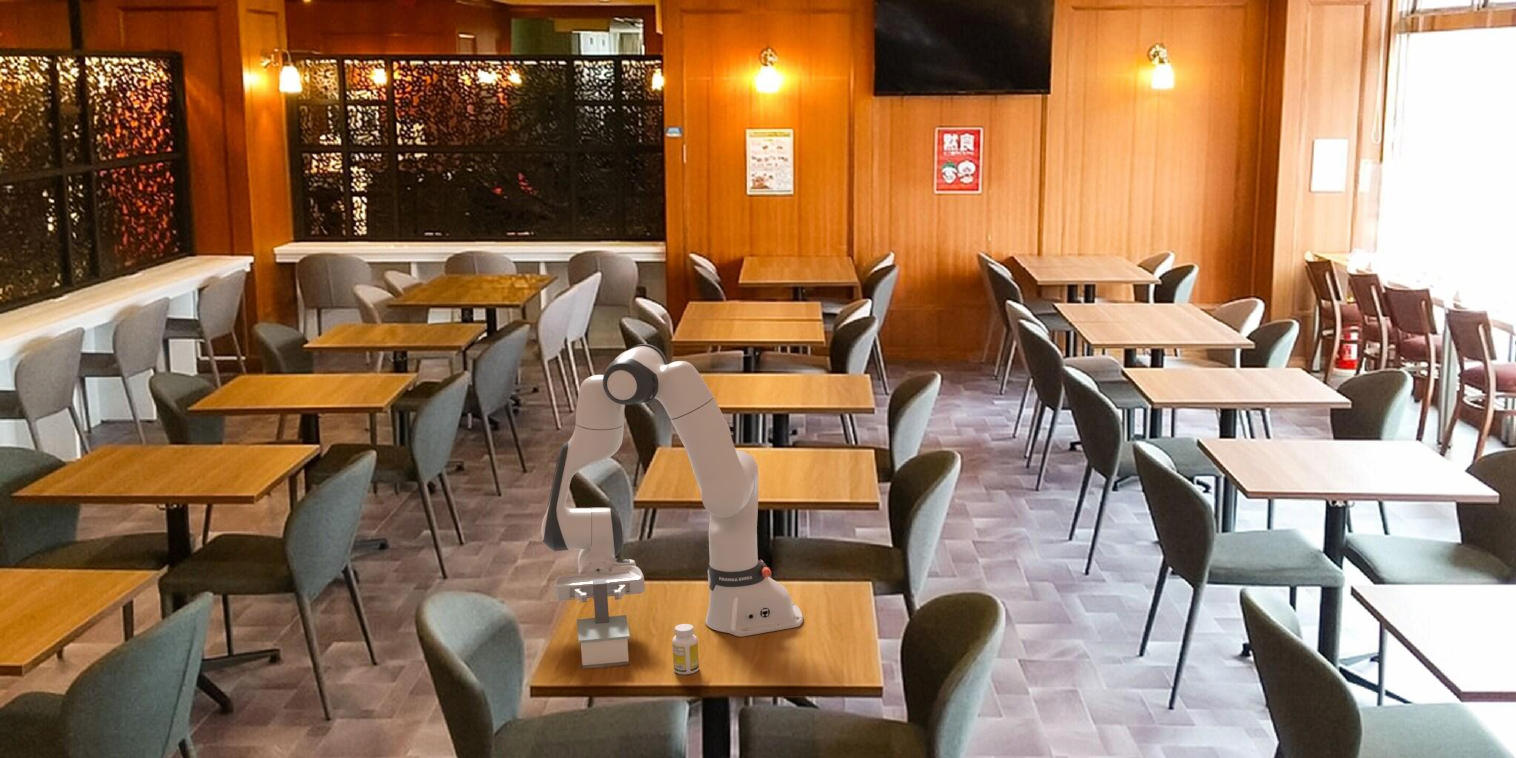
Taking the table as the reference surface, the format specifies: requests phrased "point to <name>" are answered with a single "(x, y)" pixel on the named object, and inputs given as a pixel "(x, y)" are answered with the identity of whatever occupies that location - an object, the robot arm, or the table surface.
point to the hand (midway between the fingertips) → (600, 597)
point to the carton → (604, 653)
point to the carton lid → (602, 619)
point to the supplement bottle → (685, 650)
